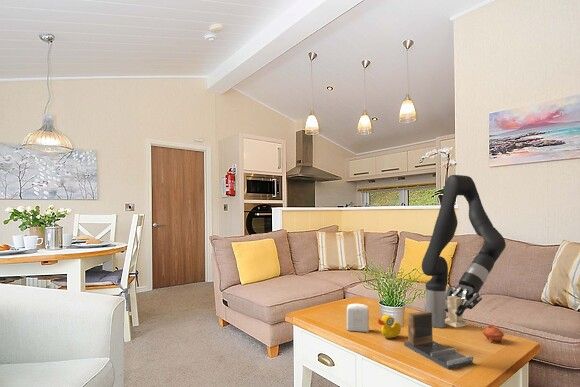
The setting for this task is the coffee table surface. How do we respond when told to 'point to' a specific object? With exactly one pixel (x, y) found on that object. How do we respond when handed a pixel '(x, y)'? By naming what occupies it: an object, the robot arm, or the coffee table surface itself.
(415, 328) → the dark brown block
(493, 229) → the robot arm
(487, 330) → the pot
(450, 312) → the beige pedestal column
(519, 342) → the coffee table surface
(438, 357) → the grey stepped base
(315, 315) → the coffee table surface
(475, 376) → the coffee table surface
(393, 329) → the duckling
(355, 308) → the photo printer
